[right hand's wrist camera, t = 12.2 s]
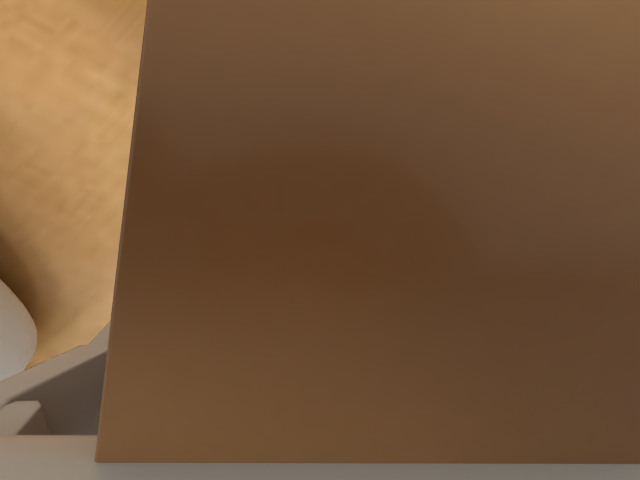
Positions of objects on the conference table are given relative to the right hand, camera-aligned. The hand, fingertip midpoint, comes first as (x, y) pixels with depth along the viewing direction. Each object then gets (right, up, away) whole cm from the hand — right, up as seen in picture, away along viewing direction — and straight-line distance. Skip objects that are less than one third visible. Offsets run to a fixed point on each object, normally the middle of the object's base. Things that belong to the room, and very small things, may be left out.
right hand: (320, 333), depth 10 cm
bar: (+2, +9, 0) cm, 9 cm away
